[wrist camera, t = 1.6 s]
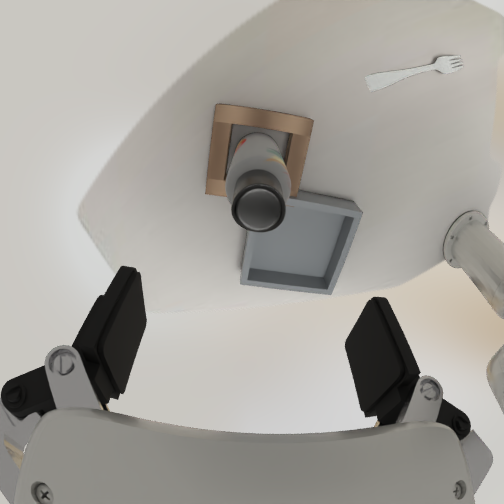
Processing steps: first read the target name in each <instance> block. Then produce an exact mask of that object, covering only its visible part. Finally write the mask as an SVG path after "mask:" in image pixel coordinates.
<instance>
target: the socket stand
mask: <svg viewBox="0 0 504 504" xmlns="http://www.w3.org/2000/svg"><path fill="white" fill-rule="evenodd" d="M313 122H314V120H312V119H310V118H305V117H301V116H296V115H291V114H286V113H281V112H275V111H269V110H263V109H257V108H250V107H243V106H235V105H227V104H216V107H215V114H214V121H213V129H212V137H211V145H210V154H209V163H208V172H207V182H206V192H205V194H209V195H217V196H224V197H227V195H226V191H225V182H226V177H227V174H226V169H227V162H228V154H229V147H230V140H231V133H232V126H233V124H239V125H247V126H253V127H260V128H266V129H272V130H278V131H283V132H288V133H290V134H289V139H288V144H287V149H286V154H285V159H284V163H285V166H286V168H287V171H288V173H289V177H290V180H291V192H290V196H294V197H297V193H298V189H299V185H300V181H301V176H302V172H303V168H304V163H305V159H306V154H307V150H308V145H309V141H310V136H311V132H312V127H313ZM286 206H289V205H286ZM290 207H294V206H290Z"/></svg>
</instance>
